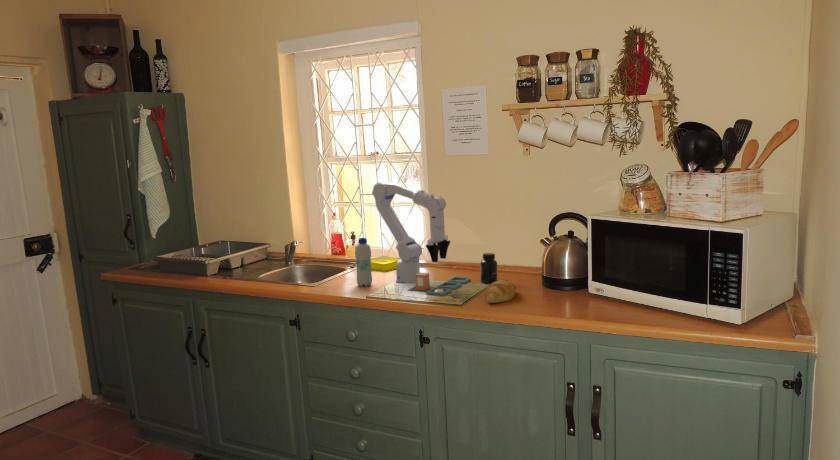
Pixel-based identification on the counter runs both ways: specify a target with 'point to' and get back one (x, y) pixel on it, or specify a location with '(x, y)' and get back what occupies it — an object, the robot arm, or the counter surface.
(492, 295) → the bread loaf
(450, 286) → the dish
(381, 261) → the yellow food container
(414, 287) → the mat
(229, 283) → the counter surface
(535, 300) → the counter surface
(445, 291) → the dish
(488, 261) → the supplement bottle
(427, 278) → the brown rectangular block
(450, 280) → the dish
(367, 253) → the bottle
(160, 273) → the counter surface
